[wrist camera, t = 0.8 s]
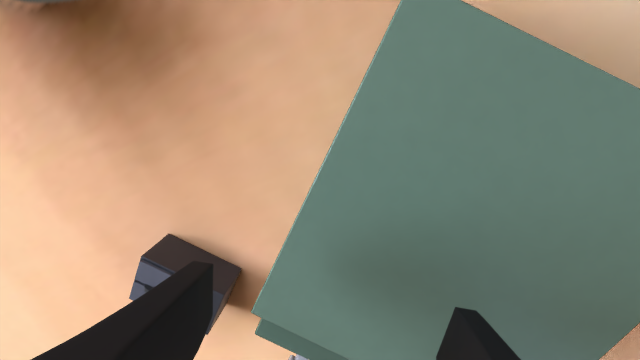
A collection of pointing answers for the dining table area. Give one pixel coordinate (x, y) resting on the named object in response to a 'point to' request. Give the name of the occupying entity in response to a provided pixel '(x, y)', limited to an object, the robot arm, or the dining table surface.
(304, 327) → the cabinet
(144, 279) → the dark grey paneled box
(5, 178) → the dining table surface
